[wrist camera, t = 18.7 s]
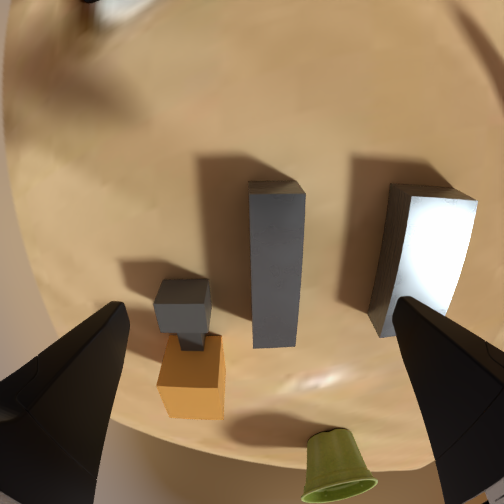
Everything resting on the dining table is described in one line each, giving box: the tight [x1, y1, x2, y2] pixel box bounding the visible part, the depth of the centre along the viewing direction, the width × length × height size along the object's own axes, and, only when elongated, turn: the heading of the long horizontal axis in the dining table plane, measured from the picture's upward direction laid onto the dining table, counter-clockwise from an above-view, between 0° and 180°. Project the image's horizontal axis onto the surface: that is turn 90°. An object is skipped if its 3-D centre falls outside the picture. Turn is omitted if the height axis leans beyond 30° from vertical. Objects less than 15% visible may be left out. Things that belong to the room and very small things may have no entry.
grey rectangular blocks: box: [248, 181, 478, 349], centre depth 20 cm, size 16×11×3 cm
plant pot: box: [301, 429, 378, 503], centre depth 29 cm, size 9×9×9 cm
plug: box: [153, 279, 226, 420], centre depth 21 cm, size 4×10×6 cm, turn 1°
